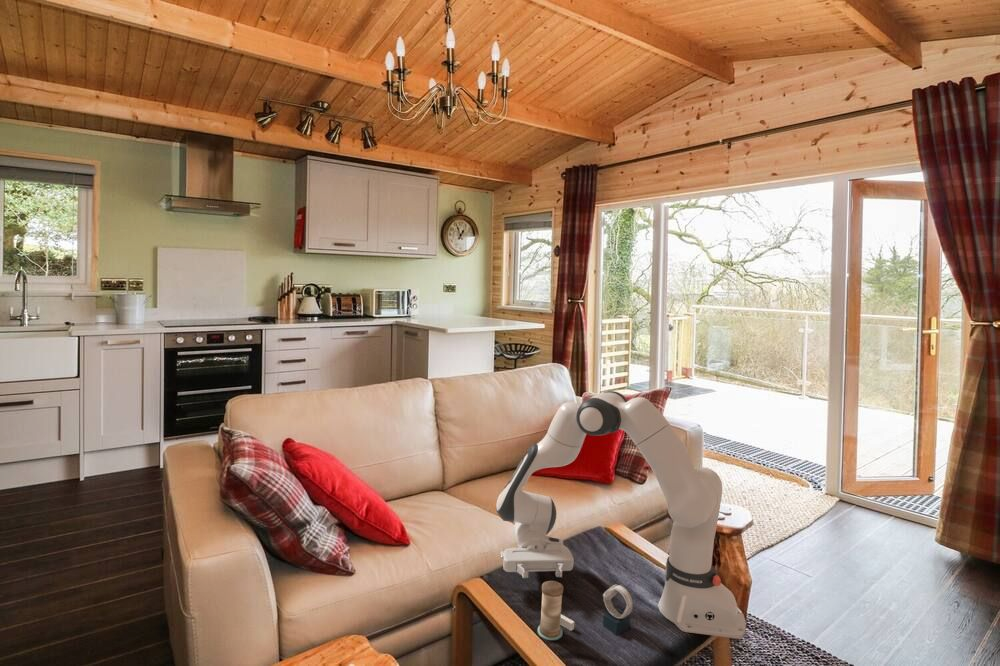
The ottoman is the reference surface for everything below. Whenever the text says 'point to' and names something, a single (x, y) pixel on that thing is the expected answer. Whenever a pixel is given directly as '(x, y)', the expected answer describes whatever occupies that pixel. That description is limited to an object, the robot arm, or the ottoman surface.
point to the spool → (551, 608)
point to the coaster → (550, 637)
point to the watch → (617, 610)
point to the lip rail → (567, 623)
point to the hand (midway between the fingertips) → (542, 575)
